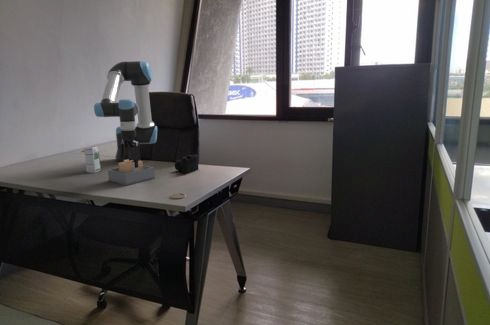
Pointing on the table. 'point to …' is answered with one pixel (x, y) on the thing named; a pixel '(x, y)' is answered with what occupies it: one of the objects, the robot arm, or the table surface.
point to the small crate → (129, 166)
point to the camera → (187, 164)
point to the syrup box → (92, 159)
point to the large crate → (131, 176)
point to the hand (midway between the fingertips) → (131, 172)
